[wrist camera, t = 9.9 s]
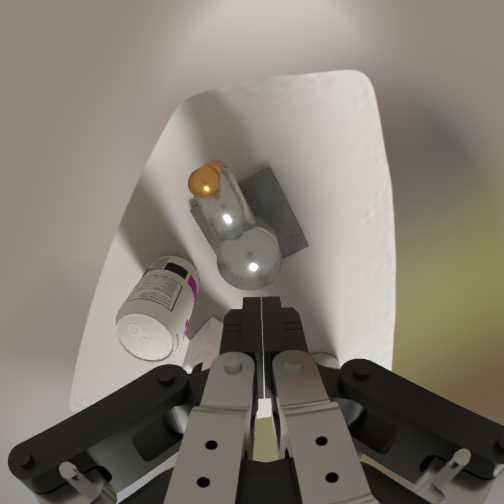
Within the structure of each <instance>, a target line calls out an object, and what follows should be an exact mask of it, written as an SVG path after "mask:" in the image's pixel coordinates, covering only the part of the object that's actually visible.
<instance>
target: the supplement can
mask: <svg viewBox="0 0 504 504" xmlns="http://www.w3.org/2000/svg"><path fill="white" fill-rule="evenodd" d="M199 286H200V280H199V275H198V273H197V271H196V269H195V268H194V266H193V265H192V264H190V263H189V262H188V261H187V260H186V259H183V258H180V257H178V256H170V255H166V256H163V257H160V258H158V259H157V260H155V261H154V262H153V263H152V264H151V265H150V267H149V268H148V269H147V271H146V272H145V274H144V275H143V276H142V278H141V279H140V281H139V282H138V283H137V285H136V286H135V288H134V289H133V290H132V292H131V293H130V295H129V296H128V298H127V299H126V301H125V302H124V303H123V305H122V306H121V308H120V309H119V311H118V314H117V316H116V337H117V339H118V342H119V344H120V345H121V346H122V348H123V349H124V350H125V351H126V352H127V353H128V354H130V355H131V356H133V357H134V358H136V359H139V360H141V361H143V362H149V363H158V362H163V361H165V360H166V359H168V358H170V356H171V355H173V354H174V353H176V352H177V351H178V349H179V348H180V346H181V345H182V342H183V338H184V335H185V332H186V329H187V326H188V322H189V319H190V316H191V313H192V310H193V307H194V304H195V301H196V298H197V295H198V292H199Z"/></svg>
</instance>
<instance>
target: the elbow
mask: <svg viewBox="0 0 504 504" xmlns="http://www.w3.org/2000/svg"><path fill="white" fill-rule="evenodd" d="M188 187H189V190H190V191H191V193H192V194H193V195H194V197H195V199H196V201H197V203H198V205H199V207H200V208H201V210H202V212H203V214H204V216H205V218H206V220H207V221H208V223H209V225H210V227H211V229H212V231H213V233H214V234H215V236H216V238H217V240H218V241H221V244H220V247H219V251H218V255H217V266H218V270H219V272H220V274H221V276H222V277H223V278H224V280H225V281H226V282H228V283H229V284H230V285H232V286H234V287H236V288H238V289H242V290H256V289H260V288H263V287H265V286H267V285H268V284H270V283H271V282H272V281H273V280H274V279H275V278H276V277H277V275H278V273H279V271H280V268H281V254H280V249H279V245H278V240H277V237H276V235H275V233H274V232H273V230H272V229H271V228H270V227H269V226H267V225H266V224H264V223H262V222H260V221H257V220H256V219H255V217H254V215H253V213H252V211H251V209H250V207H249V205H248V203H247V201H246V199H245V197H244V195H243V193H242V191H241V189H240V187H239V185H238V183H237V181H236V179H235V177H234V175H233V173H232V171H231V169H230V167H228V168H227V167H226V165H225V164H224V163H223V162H222V161H220V160H213V161H211V162H209V163H207V164H206V165H204V166H202V167H200V168H199V169H197V170H195V171H194V172H193V173H192V174H191V175H190V177H189V179H188Z"/></svg>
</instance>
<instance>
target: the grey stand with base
mask: <svg viewBox="0 0 504 504" xmlns="http://www.w3.org/2000/svg"><path fill="white" fill-rule="evenodd" d="M238 185H239V187H240V189H241V191H242V193H243V195H244V197H245V199H246V201H247V203H248V205H249V207H250V209H251V211H252V213H253V215H254V217H255V219H256V220H257V221H260V222H262V223H264V224H266V225H267V226H269V227H270V228H271V229H272V230H273V232H274V233H275V235H276V237H277V240H278V245H279V249H280V254H281V259H283V258H285V257H287V256H289V255H291V254H293V253H296V252H298V251H300V250H302V249H304V248H306V247H308V244H307V241H306V239H305V237H304V235H303V233H302V231H301V229H300V227H299V225H298V222H297V220H296V218H295V216H294V214H293V212H292V210H291V208H290V206H289V204H288V202H287V200H286V198H285V196H284V194H283V192H282V190H281V188H280V186H279V184H278V182H277V180H276V178H275V176H274V174H273V172H272V170H271V168H270V167H269V168H267V169H265V170H263V171H261V172H259V173H257V174H255V175H253V176H251V177H249V178H247V179H245V180H243V181H241V182H239V183H238ZM190 212H191V213H192V215H193V217H194V218H195V220H196V222H197V223H198V225H199V227H200V229H201V230H202V232H203V234H204V235H205V237H206V239H207V240H208V242H209V244H210V245H211V247H212V249H213V250H214V252H215V254H216V255H218V251H219V247H220V244H221V241H218V240H217V238H216V236H215V234H214V233H213V231H212V229H211V227H210V225H209V223H208V221H207V220H206V218H205V216H204V214H203V212H202V210H201V208H200V207H199V205H196V206H194V207H192V208H191V209H190Z"/></svg>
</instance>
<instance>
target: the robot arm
mask: <svg viewBox="0 0 504 504" xmlns="http://www.w3.org/2000/svg"><path fill="white" fill-rule="evenodd" d="M262 320H263V345H262ZM262 320H261V297H243V308H242V309H231V310H230V311H229V312H228V313H227V314H226V315H225V317H224V324H223V330H222V337H221V343H220V350H219V356H218V357H216V358H215V359H214V361H213V362H212V365H211V367H210V368H208V369H206V370H204V371H200V372H196V373H191V374H187V372H186V371H185V369H183V368H182V367H180V366H178V365H173V364H166V365H161V366H158V367H156V368H154V369H152V370H150V371H149V372H147V373H146V374H144V375H142V376H141V377H139V378H137V379H136V380H134V381H132V382H131V383H129V384H127V385H126V386H124V387H122V388H120V389H119V390H117V391H115V392H114V393H112V394H110V395H108V396H107V397H105V398H103V399H102V400H100V401H98V402H96V403H95V404H93V405H91V406H89V407H87V408H86V409H84V410H82V411H80V412H79V413H77V414H75V415H73V416H71V417H69V418H68V419H66V420H64V421H62V422H60V423H59V424H57V425H55V426H53V427H51V428H49V429H47V430H45V431H43V432H42V433H39V434H38V435H36V436H34V437H32V438H30V439H28V440H26V441H24V442H22V443H20V444H18V445H16V446H15V447H14V448H13V449H12V450H11V452H10V454H9V457H8V466H9V469H10V471H11V473H12V474H13V475H14V476H15V477H16V478H18V479H19V480H20V481H21V482H22V483H23V484H25V485H26V486H27V488H28V489H29V490H30V491H32V492H33V493H34V494H35V496H36V498H37V499H38V501H39V503H40V504H116V502H117V495H116V494H117V493H118V492H120V491H122V490H123V489H125V488H126V487H128V486H129V485H131V484H132V483H134V482H135V481H137V480H138V479H140V478H141V477H143V476H144V475H146V474H147V473H149V472H150V471H151V470H153V469H154V468H156V467H157V466H159V465H160V464H161V463H163V462H164V461H166V460H167V459H168V458H170V457H171V456H172V455H174V454H175V453H176V452H178V451H179V453H178V456H177V460H176V463H175V466H174V467H173V468H170V469H168V470H166V471H164V472H162V473H161V474H159V475H157V476H156V477H155V478H153V479H152V480H151V481H149V482H148V483H147V484H145V485H144V486H143V487H141V488H140V489H138V490H137V491H136V492H135V493H133V494H131V495H130V496H129V497H127V498H126V499H124V500H123V501H121V502H120V503H118V504H483V503H484V501H485V499H486V497H487V495H488V493H489V491H490V489H491V487H492V484H493V482H494V480H495V478H496V477H497V476H498V475H500V474H501V473H502V472H503V471H504V426H502V425H500V424H498V423H495V422H493V421H491V420H489V419H487V418H485V417H482V416H480V415H478V414H476V413H474V412H472V411H470V410H467V409H465V408H463V407H461V406H459V405H457V404H455V403H453V402H451V401H449V400H447V399H445V398H443V397H440V396H438V395H436V394H434V393H432V392H430V391H428V390H426V389H424V388H422V387H420V386H418V385H416V384H414V383H413V382H411V381H408V380H407V379H405V378H403V377H401V376H399V375H397V374H395V373H393V372H391V371H389V370H387V369H385V368H384V367H382V366H380V365H378V364H376V363H374V362H372V361H370V360H366V359H353V360H349V361H347V362H346V363H344V364H343V365H342V367H341V368H340V365H339V362H338V360H337V359H336V358H335V357H333V356H332V355H329V354H325V353H316V354H311V355H310V354H309V353H308V348H307V344H306V340H305V336H304V332H303V327H302V323H301V319H300V315H299V313H298V312H297V311H296V310H295V309H294V308H293V307H290V308H281V303H280V297H279V296H272V297H262ZM263 352H264V375H265V398H271V403H272V422H273V427H274V434H275V440H276V447H277V453H278V460H276V461H272V462H266V463H265V462H259V461H254V460H253V449H254V440H255V429H256V419H257V411H258V399H263V398H264V394H263ZM376 414H377V415H376ZM381 417H382V418H381ZM363 454H365V455H367V456H368V457H370V458H372V459H373V460H375V461H376V462H378V463H379V464H381V465H383V466H384V467H386V468H388V469H389V470H391V471H393V472H394V473H396V474H398V475H399V476H401V477H403V478H405V479H406V480H408V481H410V482H412V483H414V484H415V492H416V494H415V493H414V492H412V491H410V490H409V489H407V488H406V487H404V486H402V485H401V484H399V483H397V482H396V481H394V480H393V479H391V478H390V477H388V476H386V475H385V474H384V473H382V472H381V471H379V470H378V469H376V468H374V467H373V466H371V465H369V464H367V463H364V462H361V461H360V460H359V459H360V458H361V457H362V455H363Z"/></svg>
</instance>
